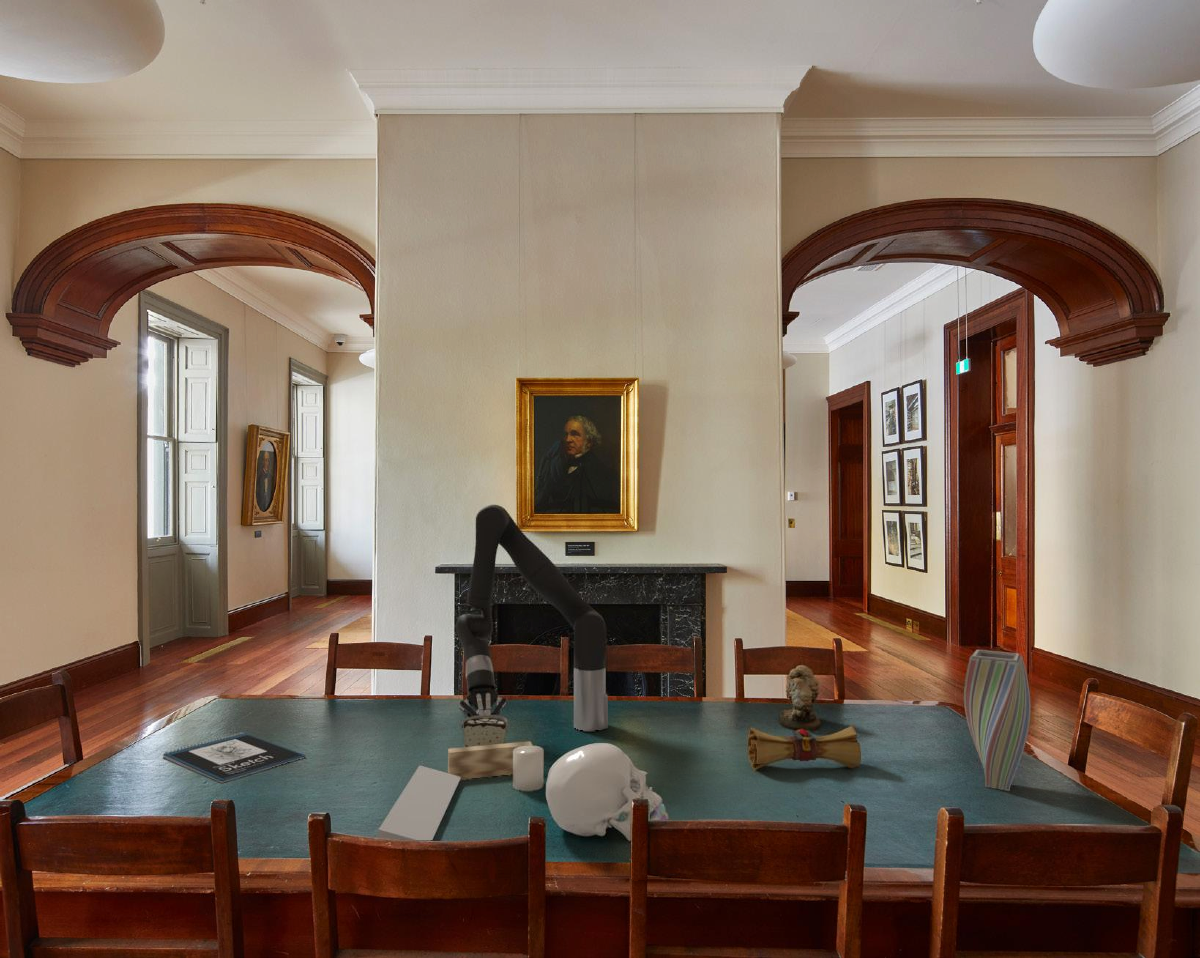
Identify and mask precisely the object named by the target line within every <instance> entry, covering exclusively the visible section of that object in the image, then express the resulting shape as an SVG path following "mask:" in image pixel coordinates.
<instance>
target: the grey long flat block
mask: <svg viewBox="0 0 1200 958" xmlns="http://www.w3.org/2000/svg"><path fill="white" fill-rule="evenodd" d="M460 778H461V777H460V776H456V775H452V774H449V773H448V772H445V771H440V770H437V769H435V768H431V767H428V766H427V767H426V766H423V765H418V767H417V769H416V770H415V771H414V773H413V775H412V776H411V778H410V780H409V781H408V783H407V784H406V786H405V787H404V789H403V790H402V792H401V793H400V795H399V797H398V798H397V800H396V802H395V803H394V805H393V806H392V808H391V809H390V811H389V812H388V814H387V816H386V817H385V819H384V820H383V822H382V823H381V825H380V826H379V828H378V829H377V834H376V837H380V838H392V839H404V840H432V841H433V839H434V837H435V835H436V832H437V831H438V828H439V826H440V824H441V822H442V820H443V817H444V815H445V814H446V810H447V809H448V807H449V805H450V803H451V800H452V798H453V796H454V793H455V791H456V789H457V787H458V785H459V782H460V781H461V780H460Z"/></svg>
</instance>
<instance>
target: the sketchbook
mask: <svg viewBox="0 0 1200 958" xmlns="http://www.w3.org/2000/svg"><path fill="white" fill-rule="evenodd" d="M306 756H307V755H305V754H304V753H301V752H298V751H296V750H292V749H290V748H287V747H284V746H281V745H279V744H276V743H273V742H271V741H268V740H265V739H262V738H260V737H257V736H255V735H251V734H248V733H246V732H242V731H241V732H239V733H235V734H234V733H233V734H230V735H229V736H228V735H226V736H223V737H220V738H217V739H216V738H214V739H213V740H212V739H210V741H209V740H207V741H204V742H200V743H197V744H196V743H194V744H191V745H187V747H186V746H184V747H180V748H176V749H175V748H174V749H173V750H172V749H170V751H168V750H166V751H165V752H164V753H163V756H162V758H163V759H165V760H167V761H170V762H172V763H175V764H177V765H179V766H181V767H183V768H185V769H188V770H191V771H193V772H195V773H198V774H200V775H202V776H205V777H207V778H210V779H212V780H214V781H216V782H218V783H221V784H223V783H226V782H227V783H228V782H230V781H233V780H236V779H240V778H244V777H246V776H247V777H248V776H249V774H250V775H253V774H256V773H259V772H262V771H263V772H264V771H266V770H269V769H272V767H273V768H276V767H275V766H277V767H279V765H280V766H282V765H281V764H282V763H287V762H290V761H293V760H297V759H299V758H303V759H305V758H304V757H306ZM306 758H307V757H306ZM297 761H298V760H297ZM293 762H294V761H293ZM290 763H291V762H290ZM287 764H288V763H287Z"/></svg>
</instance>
